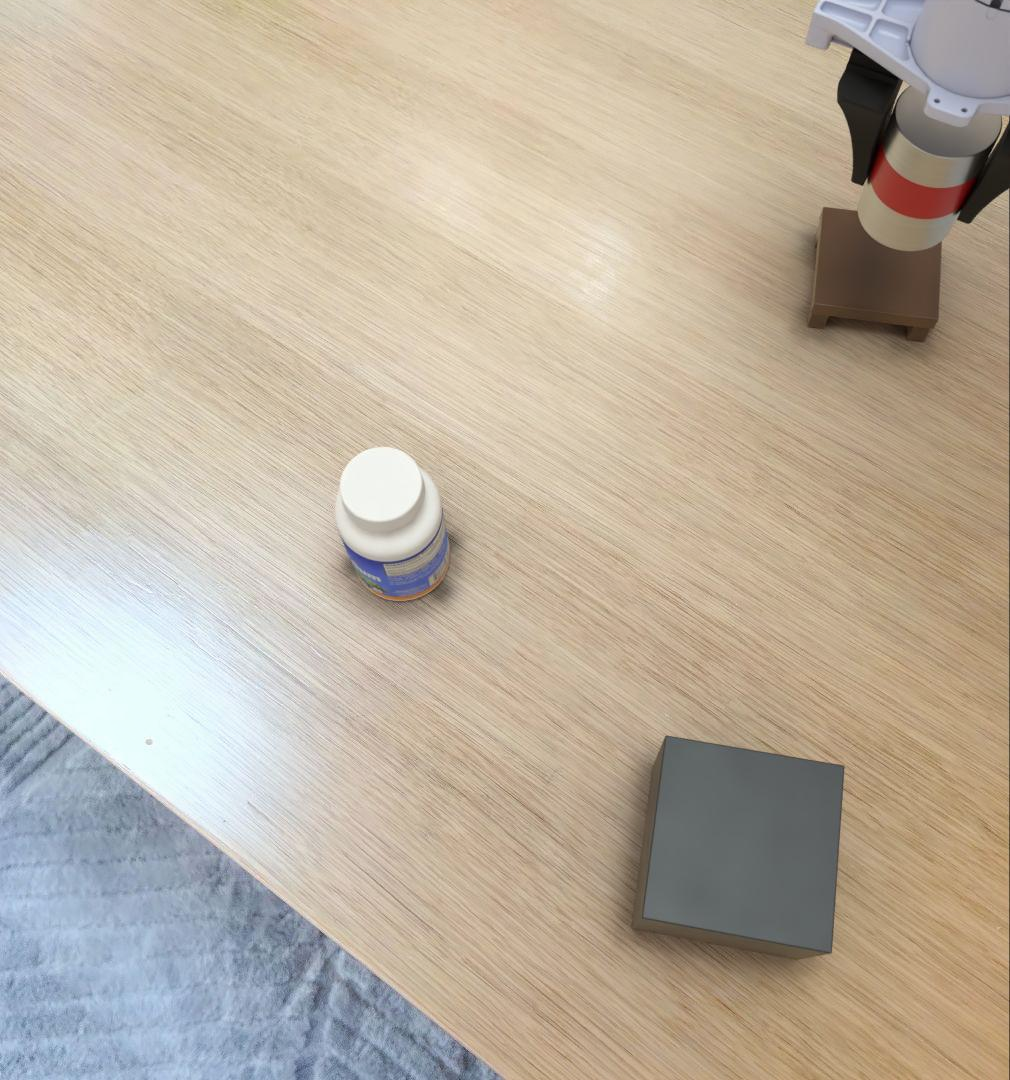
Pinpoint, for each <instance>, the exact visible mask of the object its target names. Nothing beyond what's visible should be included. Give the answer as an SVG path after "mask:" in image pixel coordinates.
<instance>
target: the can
mask: <svg viewBox="0 0 1010 1080" xmlns="http://www.w3.org/2000/svg"><path fill="white" fill-rule="evenodd" d="M925 102H926V96H925V95H923V94H922V93H920V92H919V91H917V90H916V89H914V88H913V87H912V86H910V85H908V87H906V88H905V89H904V90H903V91H901V93H900V95H899V96H897V98H896V100H895V103H894V106H893V110H892V114H891V117H890V119H889V122H888V125H887V127H886V129H885V131H884V134H883V137H882V139H881V142H880V144H879V147H878V150H877V152H876V155H875V158H874V160H873V163H872V166H871V169H870V172H869V175H868V177H867V179H866V181H865V183H864V185H863V188H862V191H861V193H860V195H859V199H858V202H857V211H858V216H859V220H860V222H861V224H862V226H863V228H864V229H865V231H866V232H867V233H868V234H869V235H870V236H871V237H872V238H873V239H875V240H876V241H877V242H879V243H881V244H882V245H884V246H887V247H889V248H892V249H896V250H901V251H920V250H925V249H928V248H931V247H933V246H935V245H937V244H938V243H940V242H941V241H942V242H943V241H944V240H945V239H946V238H947V237H948V235H949V234H950V232H951V231H952V229H953V227H954V225H955V223H956V221H957V218H958V216H959V213H960V211H961V209H962V207H963V205H964V203H965V202H966V200H967V198H968V196H969V194H970V193H971V191H972V189H973V187H974V185H975V183H976V181H977V179H978V177H979V175H980V173H981V172H982V170H983V168H984V166H985V163H986V161H987V159H988V157H989V156H990V154H991V153H992V151H993V149H994V148H995V146H996V144H997V141H999V140H998V139H1000V138H999V137H1001V136H1000V135H1001V133H1002V128H1003V117H1002V116H1003V115H988V114H975V115H974V116H973V118H972V120H971V122H970V123H969V124H968V125H967V126H965V127H955V126H952V125H950V124H947V123H944V122H941V121H938V120H935V119H932V118H930V117H928V116H927V115H925V113H924V111H923V107H924V104H925Z"/></svg>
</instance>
